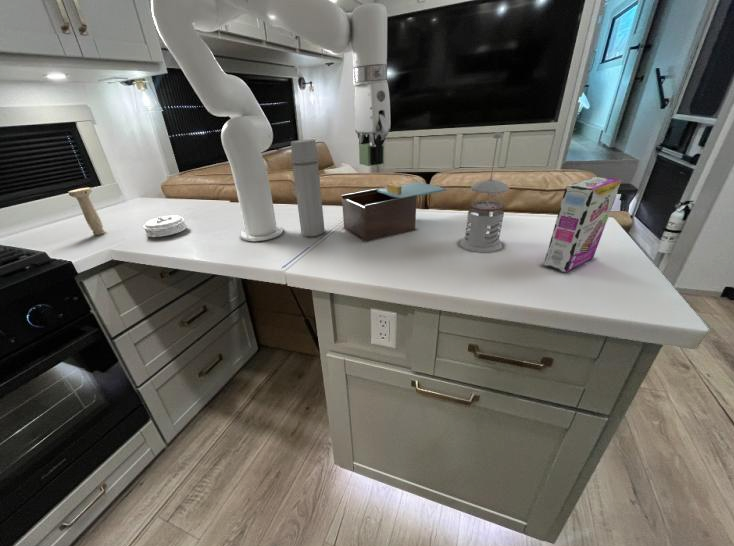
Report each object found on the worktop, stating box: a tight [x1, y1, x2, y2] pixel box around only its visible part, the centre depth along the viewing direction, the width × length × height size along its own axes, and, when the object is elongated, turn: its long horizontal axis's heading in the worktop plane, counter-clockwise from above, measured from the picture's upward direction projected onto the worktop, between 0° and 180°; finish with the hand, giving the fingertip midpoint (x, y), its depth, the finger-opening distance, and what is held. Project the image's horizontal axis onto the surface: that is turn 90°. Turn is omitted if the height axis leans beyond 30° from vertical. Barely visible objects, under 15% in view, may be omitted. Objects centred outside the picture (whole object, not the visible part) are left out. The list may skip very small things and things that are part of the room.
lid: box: [142, 214, 188, 238], centre depth 108 cm, size 13×13×5 cm
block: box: [358, 142, 385, 167], centre depth 83 cm, size 5×5×5 cm
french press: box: [459, 131, 510, 253], centre depth 76 cm, size 10×12×25 cm
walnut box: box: [341, 186, 418, 242], centre depth 95 cm, size 14×16×10 cm
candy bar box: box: [542, 176, 623, 273], centre depth 65 cm, size 11×5×16 cm, turn 123°
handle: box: [67, 187, 105, 236], centre depth 111 cm, size 5×6×15 cm
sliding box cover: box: [377, 181, 447, 199], centre depth 95 cm, size 13×15×3 cm
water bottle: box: [290, 138, 326, 238], centre depth 92 cm, size 9×8×25 cm
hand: (371, 162), depth 84 cm, fingers closed on block, 4 cm apart
